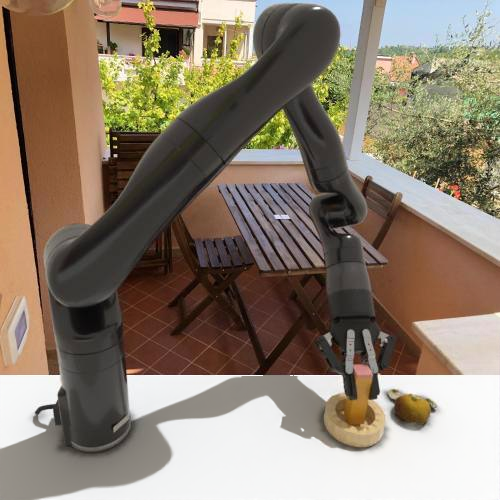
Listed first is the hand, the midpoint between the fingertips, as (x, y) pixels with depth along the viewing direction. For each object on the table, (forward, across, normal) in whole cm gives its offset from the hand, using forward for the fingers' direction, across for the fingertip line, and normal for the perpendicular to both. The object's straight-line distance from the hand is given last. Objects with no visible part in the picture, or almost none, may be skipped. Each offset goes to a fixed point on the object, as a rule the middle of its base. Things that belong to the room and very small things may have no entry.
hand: (363, 399), depth 67 cm
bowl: (+3, 0, +6) cm, 7 cm away
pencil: (+3, 0, +6) cm, 6 cm away
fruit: (+1, +12, +9) cm, 15 cm away
